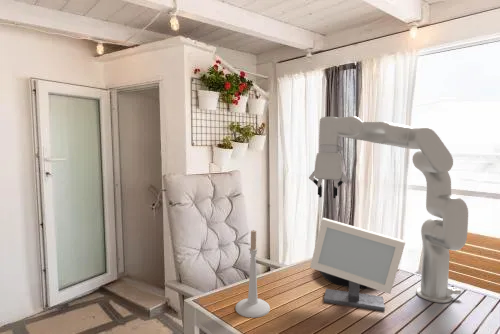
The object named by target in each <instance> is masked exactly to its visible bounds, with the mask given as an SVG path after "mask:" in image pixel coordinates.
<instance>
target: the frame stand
mask: <svg viewBox="0 0 500 334" xmlns="http://www.w3.org/2000/svg"><path fill="white" fill-rule="evenodd" d="M360 289H361V288H360V284H358V283H355V282H352V281H349V287H348V291H345V290H338V289H330V288H326V289H325V292H324V297H323V302H324V303H327V304H328V303H329V304H335V305H340V306H347V307H354V308H360V309H361V308H362V309H367V310H372V311H373V310H374V311H379V312H380V311H381V312H385V310H386V307H385V302H384V297H383V296H381V295H374V294H368V293H360Z"/></svg>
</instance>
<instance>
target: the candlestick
mask: <svg viewBox="0 0 500 334" xmlns="http://www.w3.org/2000/svg"><path fill="white" fill-rule="evenodd" d="M248 250H249V254H250V264H249V280H248V295H247V297H248V298H244V299H242V300H239V301H238V302H237V303H236V304H235V312H236V313H237V314H239V315H240V316H242V317H244V318H245V317H246V318H250V317H251V318H254V319H255V318H261V317H264V316H266V315H268V314H269V312H270V310H271V307H270V305H269V303H268V302H267V301H265V300H264V299H261V298H258V297H259V296H258V281H257V280H258V279H257V277H258V276H257V275H258V274H257V257H256V255H257V254H258V250H259V248H258V247H257V230H254V229H252V230H250V247H248Z"/></svg>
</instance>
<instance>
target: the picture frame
mask: <svg viewBox="0 0 500 334" xmlns="http://www.w3.org/2000/svg"><path fill="white" fill-rule="evenodd" d="M405 245H406V242H405V240H404V239H400V238H398V237H397V238H396V237H393V236H390V235H385V234H383V233H379V232H375V231H371V230H367V229H365V228H362V227H358V226H354V225H351V224H347V223H344V222H340V221H336V220H334V219H331V218H330V219H329V218H326V217H322V219H321V223H320V226H319V231H318V234H317V239H316V241H315V246H314V251H313V254H312V257H311V258H312V259H311V262H310V267H309V268H310V269H314V270H316V271H319V272H320V271H322V272H325V273H328V274H331V275H334V276H337V277H340V278H343V279H346V280H349V281H352V282H355V283H358V284H361V285H364V286H367V287H370V288H369V289H374V290H377V291H381V292H382V293H386V294H390V295H391V294H392V290H393V285H394V283H395V279H396V275H397V273H398V269H399V265H400V263H401V259H402V256H403V252H404V248H405Z"/></svg>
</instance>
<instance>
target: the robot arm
mask: <svg viewBox="0 0 500 334" xmlns="http://www.w3.org/2000/svg"><path fill="white" fill-rule="evenodd" d="M318 128H319V129H318V131H319V132H318V134H319V135H318V152H317V153H316V156H315V161H314V170H313V171H312V173H311V174H310V176H309V177H308V179H309V180H310V181H312V182H313V183H314V184H315V185H316V186H317V195H318V197H319V198H323V186H322V181H323V180H327V181H328V180H331V181H332V180H333V183H334V186H333V194H332V198H333V199H336V197H337V196H338V188H340V187H341V185H342V184H344V183H345V182H347V181H348V179H349V178H348V177H347V175H346V174H345V173H344V171H343V158H342V157H343V156H342V154H341V151H344V146H340V137H342V138H346V139H350V140H351V139H353V140H356V141H358V140H359V141H362V142H370V143H374V144H380V145H387V146H392V147H397V148H403V149H410V150H418V151H416V152H415V153H414V154H413V155H412V164H413V166H414V168H416V169H417V170H419V171H420V172H421V173H422V175H423V176H424V177H425V182H426V193H425V194H426V195H425V196H426V197H425V198H426V199H425V205H426V206H425V209H426V211H427V213H429V214H430V215H432V216H434V217H437V218H429V219H427V220H425V221H424V222H423V223H422V225H421V230H420V233H421V240H422V257H421V261H422V262H421V276H420V286H419V287H417V288H416V295H418V297H420V298H422V299H424V300H426V301H428V302H429V301H430V302H433V303H439V304H443V303H444V304H445V303H449V302H451V301H452V297H453V296H452V295H461V294H462V291H461V290H460V289H458V288H457V289H456V288H455V287H453V286H449V273H450V272H449V270H450V251H459V250H461V249H462V248H463V247H465V246H466V242H467V240H468V231H469V230H468V227H469V208H468V206H467V203H466V202H465V200H464V199H462V198H461V197H458V196H454V195H452V178H451V175H450V173H449V172H450V170H451V169H452V168H453V166H454V159H453V156H452V154H451V152H450V151H449V149H448V148H447V146H446V145H445V143H444V142H443V141H442V138H441V137H440V136H439V134H437V132H435V131H434V130H433V129H432V128H430V127H429V126H410V125H405V124H399V123H393V122H390V121H389V122H387V121H362V120H361V119H360V118H359V117H357V116H353V115H352V116H351V115H350V116H342V117H337V116H323V117H321V118H320V119H319V127H318ZM338 180H339V181H338ZM438 218H439V219H438Z"/></svg>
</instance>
